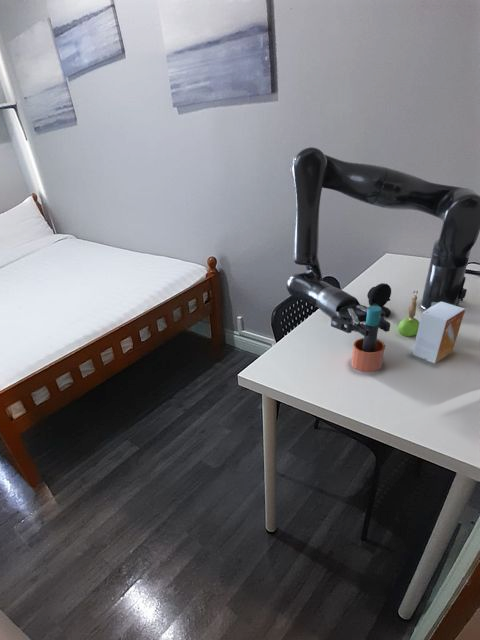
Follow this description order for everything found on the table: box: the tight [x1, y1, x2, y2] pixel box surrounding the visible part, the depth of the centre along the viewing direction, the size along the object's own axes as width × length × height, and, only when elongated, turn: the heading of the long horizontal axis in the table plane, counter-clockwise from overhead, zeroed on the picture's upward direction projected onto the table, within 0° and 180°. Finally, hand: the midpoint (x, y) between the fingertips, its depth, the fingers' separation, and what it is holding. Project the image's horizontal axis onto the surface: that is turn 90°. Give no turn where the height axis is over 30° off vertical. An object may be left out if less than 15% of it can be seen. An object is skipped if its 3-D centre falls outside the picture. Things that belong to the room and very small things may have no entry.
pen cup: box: [350, 337, 386, 373], centre depth 104 cm, size 7×7×6 cm
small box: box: [412, 302, 466, 364], centre depth 102 cm, size 8×6×13 cm
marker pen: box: [362, 305, 381, 352], centre depth 101 cm, size 3×3×16 cm
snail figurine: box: [397, 290, 420, 338], centre depth 111 cm, size 5×6×12 cm
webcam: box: [367, 282, 392, 318], centre depth 123 cm, size 8×8×10 cm
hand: (379, 330), depth 97 cm, fingers open, 4 cm apart
